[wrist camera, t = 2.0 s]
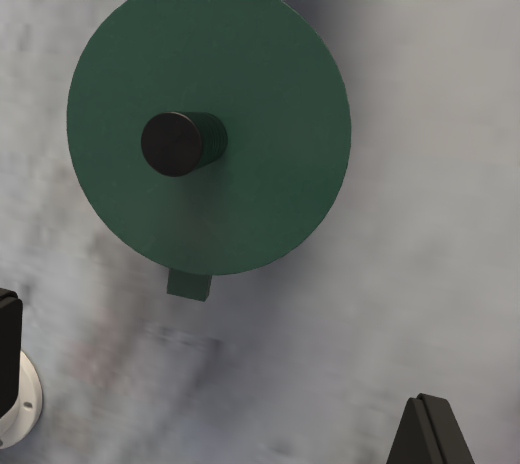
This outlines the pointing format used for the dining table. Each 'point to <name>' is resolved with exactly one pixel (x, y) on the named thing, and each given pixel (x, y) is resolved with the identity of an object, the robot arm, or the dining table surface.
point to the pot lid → (209, 131)
